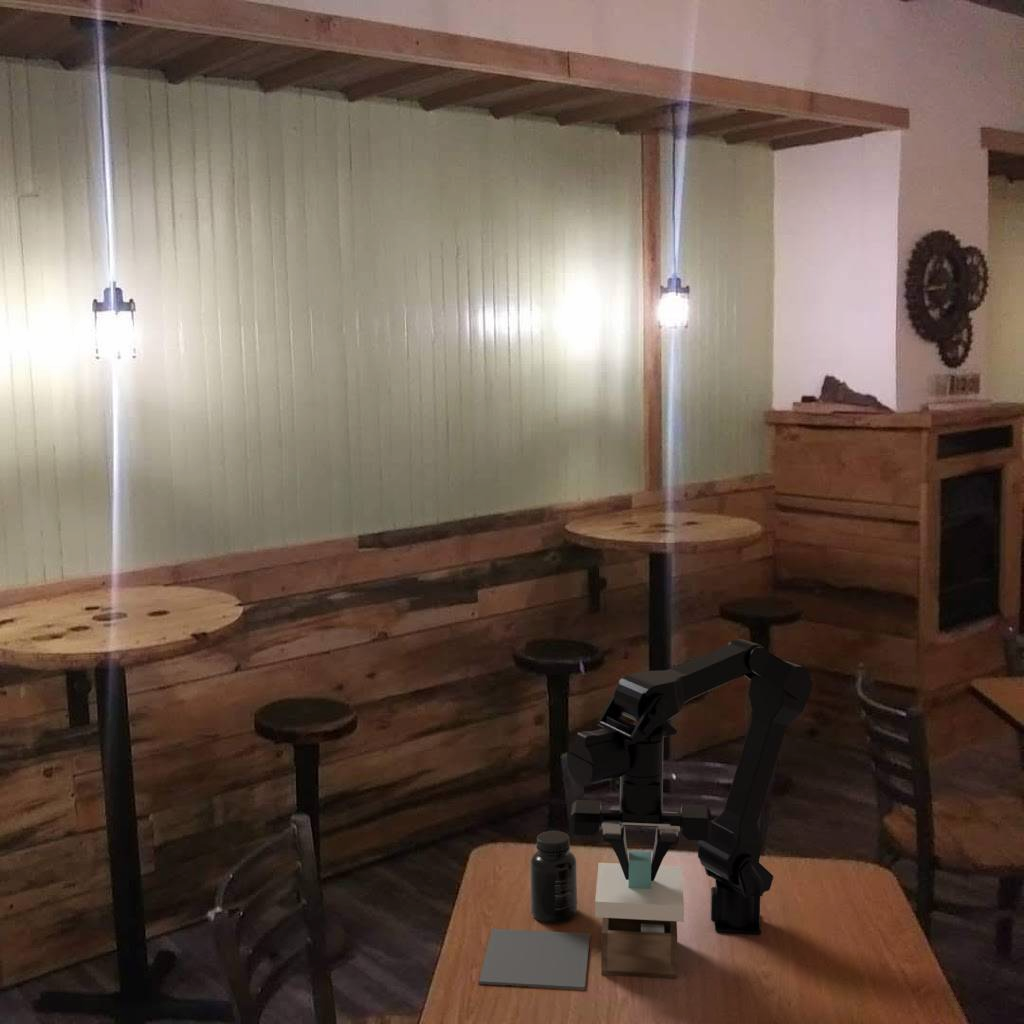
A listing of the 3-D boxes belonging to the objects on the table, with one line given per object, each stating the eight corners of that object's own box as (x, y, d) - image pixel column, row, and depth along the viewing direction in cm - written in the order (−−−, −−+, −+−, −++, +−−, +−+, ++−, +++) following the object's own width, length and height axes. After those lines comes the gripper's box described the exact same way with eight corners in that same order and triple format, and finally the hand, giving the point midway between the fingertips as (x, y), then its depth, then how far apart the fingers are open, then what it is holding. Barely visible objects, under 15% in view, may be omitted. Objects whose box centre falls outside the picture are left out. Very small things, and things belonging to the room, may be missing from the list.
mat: (589, 936, 175) (589, 933, 175) (584, 989, 161) (584, 987, 161) (492, 931, 176) (492, 928, 176) (478, 983, 162) (478, 981, 162)
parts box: (675, 940, 173) (675, 900, 172) (676, 978, 164) (677, 936, 163) (603, 936, 174) (604, 897, 173) (601, 974, 165) (601, 932, 164)
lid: (681, 881, 173) (682, 839, 172) (683, 921, 161) (684, 877, 160) (598, 877, 174) (598, 835, 173) (594, 917, 162) (595, 873, 161)
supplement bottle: (578, 903, 184) (578, 828, 182) (575, 926, 177) (576, 848, 176) (532, 901, 185) (532, 826, 183) (528, 924, 178) (528, 846, 176)
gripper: (709, 751, 171) (706, 856, 174) (575, 746, 173) (574, 850, 176) (713, 781, 160) (710, 893, 163) (570, 775, 163) (569, 886, 165)
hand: (639, 879), depth 167 cm, fingers closed on lid, 3 cm apart
